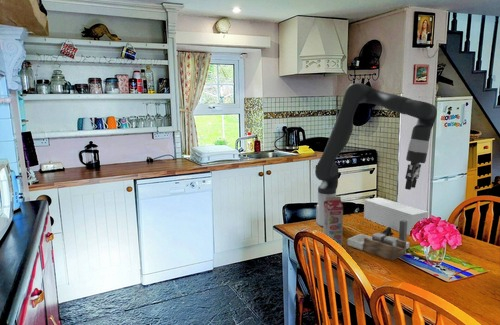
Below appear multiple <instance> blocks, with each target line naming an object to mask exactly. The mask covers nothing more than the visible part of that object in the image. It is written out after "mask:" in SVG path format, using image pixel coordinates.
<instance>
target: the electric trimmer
mask: <svg viewBox="0 0 500 325" xmlns="http://www.w3.org/2000/svg"><path fill="white" fill-rule="evenodd" d="M391 233H392V229H391V228H390V227H386V228H385V229H384V230H383V231H382V232H381V234H384V235H386V236H391Z"/></svg>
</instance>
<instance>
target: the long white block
mask: <svg viewBox="0 0 500 325" xmlns="http://www.w3.org/2000/svg"><path fill="white" fill-rule="evenodd" d="M363 200H364V202H363V203H364V206H363V208H364V209H363V219H365V218H366V219H365V220H367V219H368V221H370V220H371V221H370V222H373V223H375V222H376V223H375V224H379V225H381V226H383V225H384V226H383V227H386V228H388V227H390V228H391V230H394V231H397V232H399V228H400V221H401V220H405V221H407V236H409V235H410V231H411V230H412V228H413V227H414V225H415V224H416V223H417V222H418V221H420V220H422V219H423V218H428V219H429V211H427V210H423V209H422V208H421V209H419V208H417V207H414V206H410V205H407V204H403V203H399V202H396V201H393V200H389V199H386V198H382V197H374V198H373V197H372V198H367V199H363Z"/></svg>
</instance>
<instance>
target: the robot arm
mask: <svg viewBox="0 0 500 325" xmlns="http://www.w3.org/2000/svg"><path fill="white" fill-rule="evenodd" d="M342 99H343V100H342V102H341V106H340V109H339V112H338V115H337V117H336V120H335V123H334V125H333V127H332V129H331V133H330V135H329V138H328V140H327V143H326V146H325V148H324V150H323V153H322V154H321V155H320V156H321V157H320V159H319V160H318V162H317V164H316V167H315V177H316V178H317V180H320V181H322V182H321V183H320V185H319V186H317V187H318V188H317V205H316V208H315V210H316V211H315V212H316V213H315V218H316V219H315V223H316V224H317V225H318V226H320V227H323V218H324V202H325V201H326V197H337V188H338V187H339V175H340V174H339V166H338V164H336V162H335V161H336V159H337V157H338V156H339V155H340V154H341V152H342V151H343V150H344V149H345V147H347V144H348V143H349V141H350V138H351V136H352V134H353V130H354V116H355V113H356V111H357V108H358V106H359V104H371V105H372V104H374V105H376V106H379V107H382V108H384V109H385V110H388V111H391V112H395V113H398V114H402V115H405V116H409V117H412V118H416V119H417V121H416V125H414V126H413V127H412V132H411V135H410V136H411V137H410V141H409V144H408V148H407V152H406V158H405V160H406V161H408V162H410V163H409V164H407V167H406V168H407V169H406V173H405V176H404V177H405V179H406V181H405V186H404V189H405V190H409V191H410V190H411V189H413V188H414V189H415V188H416V186H417V181H418V179H419V177H420V172H421V169H422V168H421V167H422V164H425V163H426V161H427V155H428V151H429V144H430V138H431V135H432V134H431V133H432V130H433V127H434V124H435V122H436V118H437V113H438V109H437V108H436V105H434V104H433V103H430V102H426V101H422V100H416V99H412V98H410V97H406V96H401V95H397V94H393V93H389V92H384V91H382V90H379V89H376V88H373V87H372V86H370V85H367V84H365V83H359V82H357V83H356V82H355V83H350V85H348V86H347V88H346V90H345V91H344V96H343V98H342Z"/></svg>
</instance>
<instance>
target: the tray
mask: <svg viewBox="0 0 500 325" xmlns="http://www.w3.org/2000/svg"><path fill="white" fill-rule="evenodd" d="M364 238H368V239H371V240H372V236H369V235H367V234H363V233H359V234H355V235H354V236H351V237H348V238H347V240H346V241H347V242H346V245H347V246H348V247H351V248H355V249H358V250H360V251H364Z"/></svg>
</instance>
